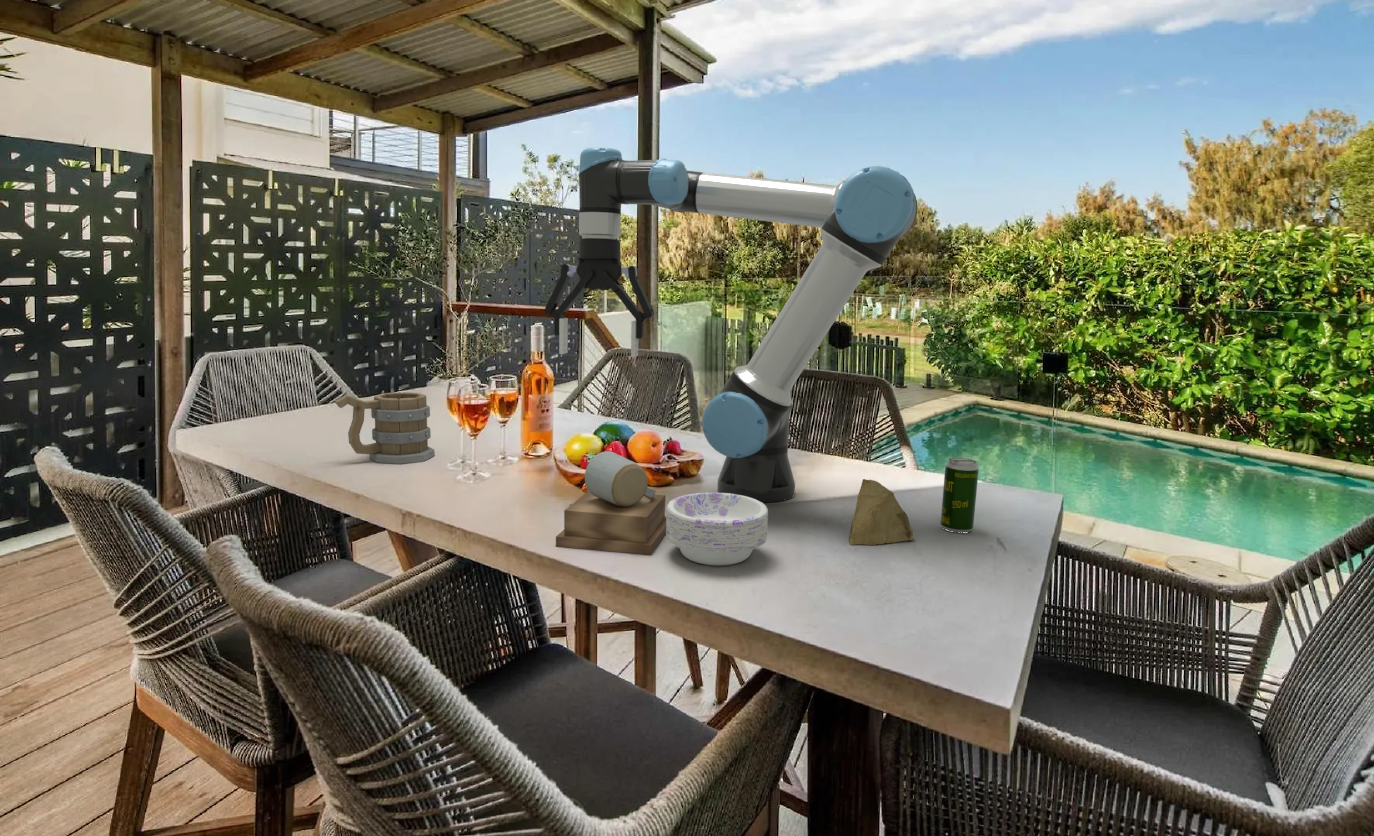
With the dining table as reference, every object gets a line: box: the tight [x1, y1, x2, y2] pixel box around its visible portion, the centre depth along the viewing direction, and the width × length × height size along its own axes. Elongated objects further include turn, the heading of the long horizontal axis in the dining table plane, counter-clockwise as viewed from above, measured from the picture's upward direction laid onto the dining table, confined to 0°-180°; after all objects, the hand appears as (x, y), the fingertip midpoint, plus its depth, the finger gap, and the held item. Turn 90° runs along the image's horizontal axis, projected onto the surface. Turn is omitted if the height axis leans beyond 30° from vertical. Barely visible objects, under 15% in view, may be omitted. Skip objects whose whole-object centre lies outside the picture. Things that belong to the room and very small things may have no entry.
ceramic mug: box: [584, 450, 657, 507], centre depth 129 cm, size 11×8×8 cm
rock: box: [848, 478, 915, 546], centre depth 130 cm, size 11×9×10 cm
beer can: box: [940, 457, 980, 533], centre depth 137 cm, size 5×5×12 cm
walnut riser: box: [555, 490, 667, 556], centre depth 129 cm, size 15×15×6 cm
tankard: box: [335, 391, 436, 465], centre depth 176 cm, size 20×13×15 cm, turn 128°
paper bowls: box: [665, 492, 769, 567], centre depth 121 cm, size 15×15×8 cm
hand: (598, 355), depth 150 cm, fingers open, 13 cm apart
